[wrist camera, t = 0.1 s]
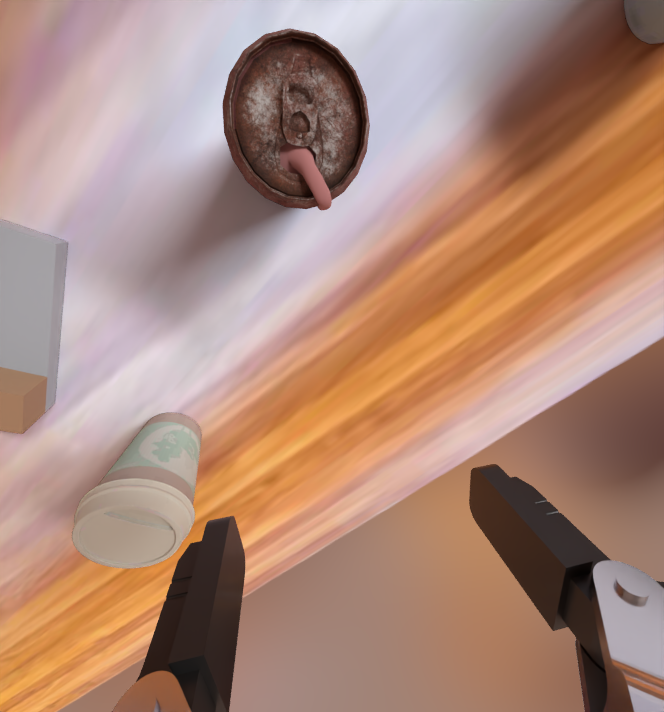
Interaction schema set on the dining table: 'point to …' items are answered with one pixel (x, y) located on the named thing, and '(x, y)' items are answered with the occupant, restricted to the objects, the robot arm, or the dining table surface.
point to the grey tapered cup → (646, 19)
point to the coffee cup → (143, 497)
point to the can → (296, 119)
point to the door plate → (29, 323)
